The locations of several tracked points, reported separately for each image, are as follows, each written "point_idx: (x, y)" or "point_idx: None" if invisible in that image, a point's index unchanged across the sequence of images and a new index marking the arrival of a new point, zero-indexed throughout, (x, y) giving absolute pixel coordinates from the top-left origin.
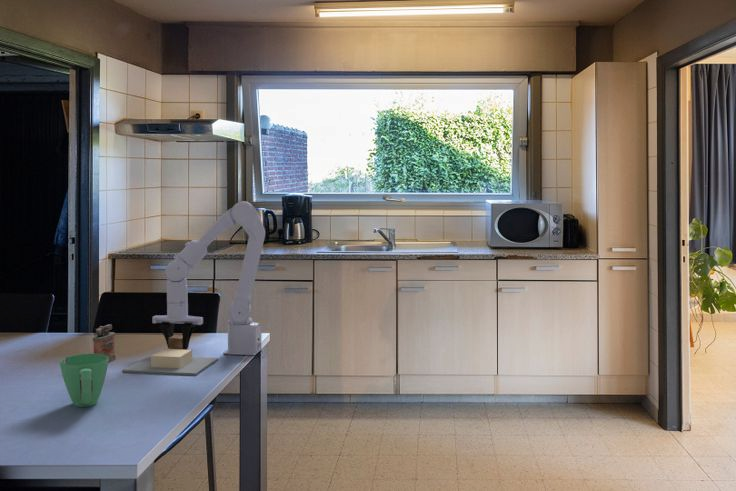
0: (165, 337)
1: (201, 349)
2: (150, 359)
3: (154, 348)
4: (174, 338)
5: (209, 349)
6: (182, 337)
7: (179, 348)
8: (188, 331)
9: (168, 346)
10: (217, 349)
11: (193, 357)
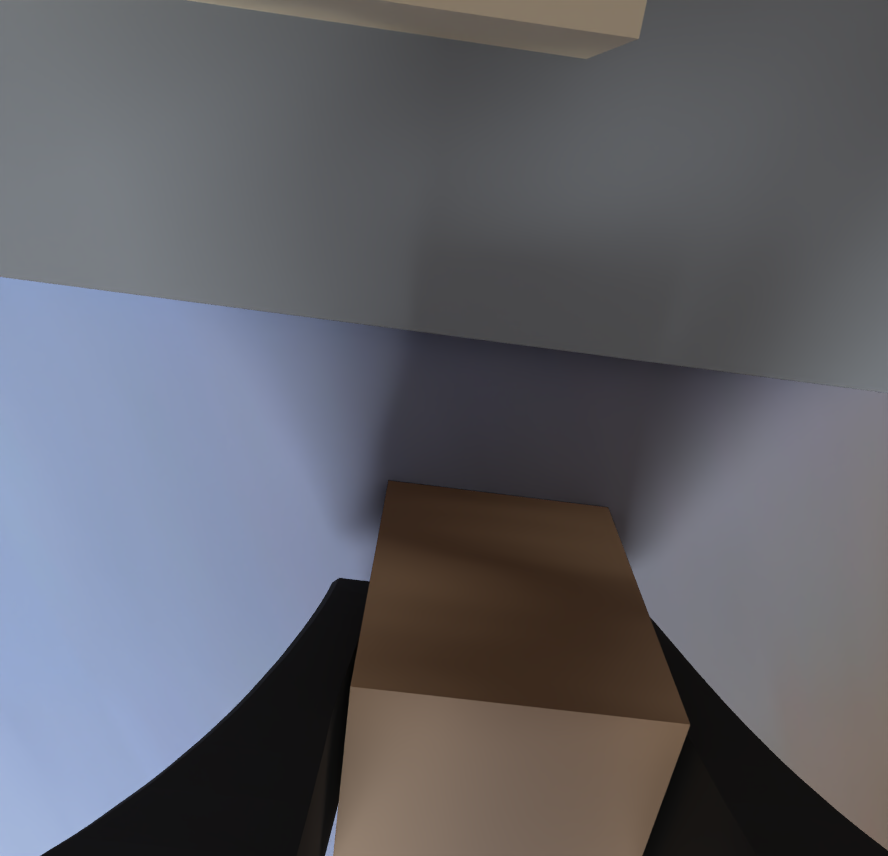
0: (769, 758)
1: None
2: (882, 39)
3: (873, 820)
4: (536, 704)
5: (137, 790)
6: (370, 774)
7: (422, 550)
8: (77, 839)
9: None
10: (34, 791)
11: (74, 244)
